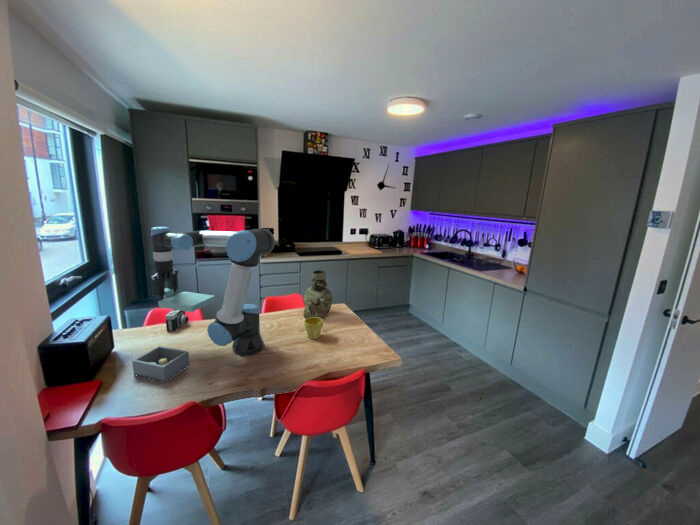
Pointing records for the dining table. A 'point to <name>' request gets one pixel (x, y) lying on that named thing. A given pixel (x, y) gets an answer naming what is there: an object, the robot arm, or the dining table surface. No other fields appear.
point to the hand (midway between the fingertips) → (168, 306)
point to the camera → (175, 319)
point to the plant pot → (313, 327)
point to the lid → (185, 300)
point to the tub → (160, 363)
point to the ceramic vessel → (317, 297)
